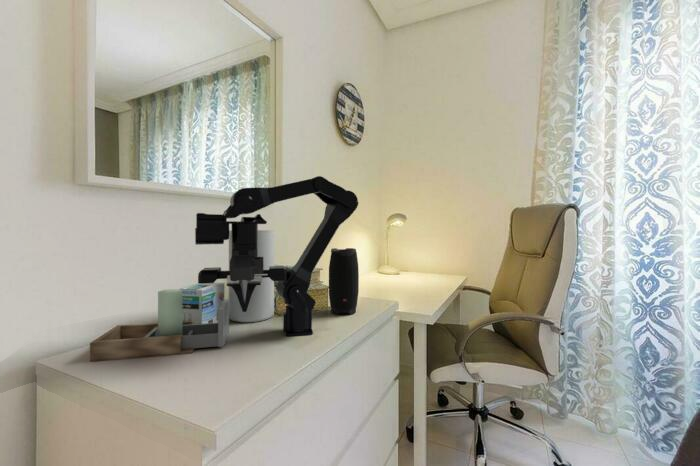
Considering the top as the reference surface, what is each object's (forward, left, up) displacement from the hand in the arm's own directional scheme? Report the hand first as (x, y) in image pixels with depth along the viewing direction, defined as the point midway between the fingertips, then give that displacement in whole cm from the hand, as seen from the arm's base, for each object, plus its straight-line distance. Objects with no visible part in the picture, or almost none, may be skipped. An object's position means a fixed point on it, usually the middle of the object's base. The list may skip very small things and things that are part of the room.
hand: (244, 311), depth 72 cm
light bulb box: (+11, -13, -7) cm, 19 cm away
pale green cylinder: (+15, 0, -6) cm, 16 cm away
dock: (+19, 0, -6) cm, 20 cm away
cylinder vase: (-1, -19, -7) cm, 20 cm away
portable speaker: (-28, -18, -7) cm, 34 cm away
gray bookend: (+12, 0, -6) cm, 14 cm away
